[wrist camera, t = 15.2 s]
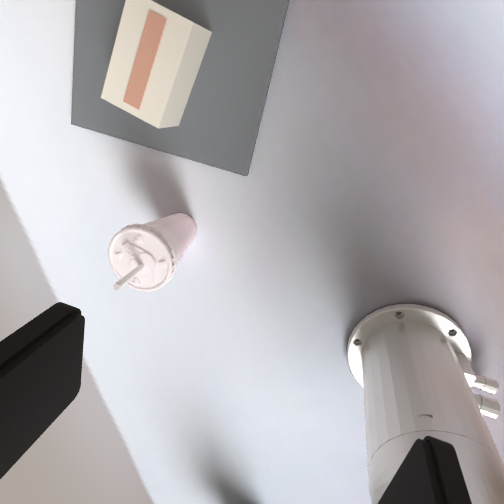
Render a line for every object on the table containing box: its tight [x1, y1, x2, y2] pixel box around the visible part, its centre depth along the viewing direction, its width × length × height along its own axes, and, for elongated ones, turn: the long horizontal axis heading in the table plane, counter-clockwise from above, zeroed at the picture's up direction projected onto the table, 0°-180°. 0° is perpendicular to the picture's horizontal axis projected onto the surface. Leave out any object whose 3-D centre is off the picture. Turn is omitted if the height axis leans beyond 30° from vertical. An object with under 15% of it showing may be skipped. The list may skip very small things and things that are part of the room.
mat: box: [71, 0, 289, 176], centre depth 37 cm, size 20×16×1 cm
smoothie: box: [108, 213, 197, 292], centre depth 36 cm, size 6×6×14 cm
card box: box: [101, 0, 212, 129], centre depth 34 cm, size 9×6×5 cm, turn 154°
